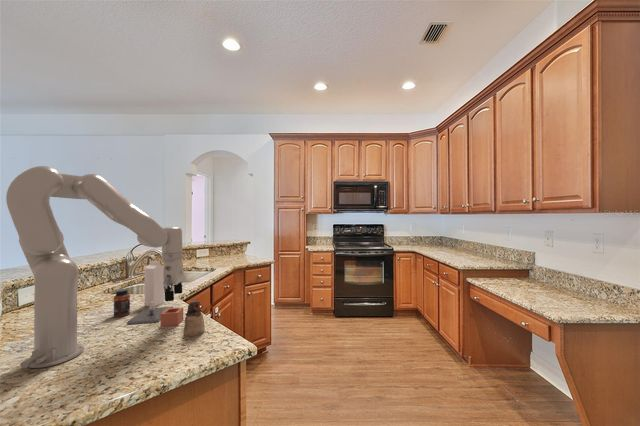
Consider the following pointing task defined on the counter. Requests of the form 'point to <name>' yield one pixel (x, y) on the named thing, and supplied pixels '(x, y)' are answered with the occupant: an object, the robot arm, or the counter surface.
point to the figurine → (194, 320)
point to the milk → (154, 283)
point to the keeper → (148, 315)
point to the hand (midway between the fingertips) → (174, 297)
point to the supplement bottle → (121, 303)
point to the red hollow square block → (171, 316)
